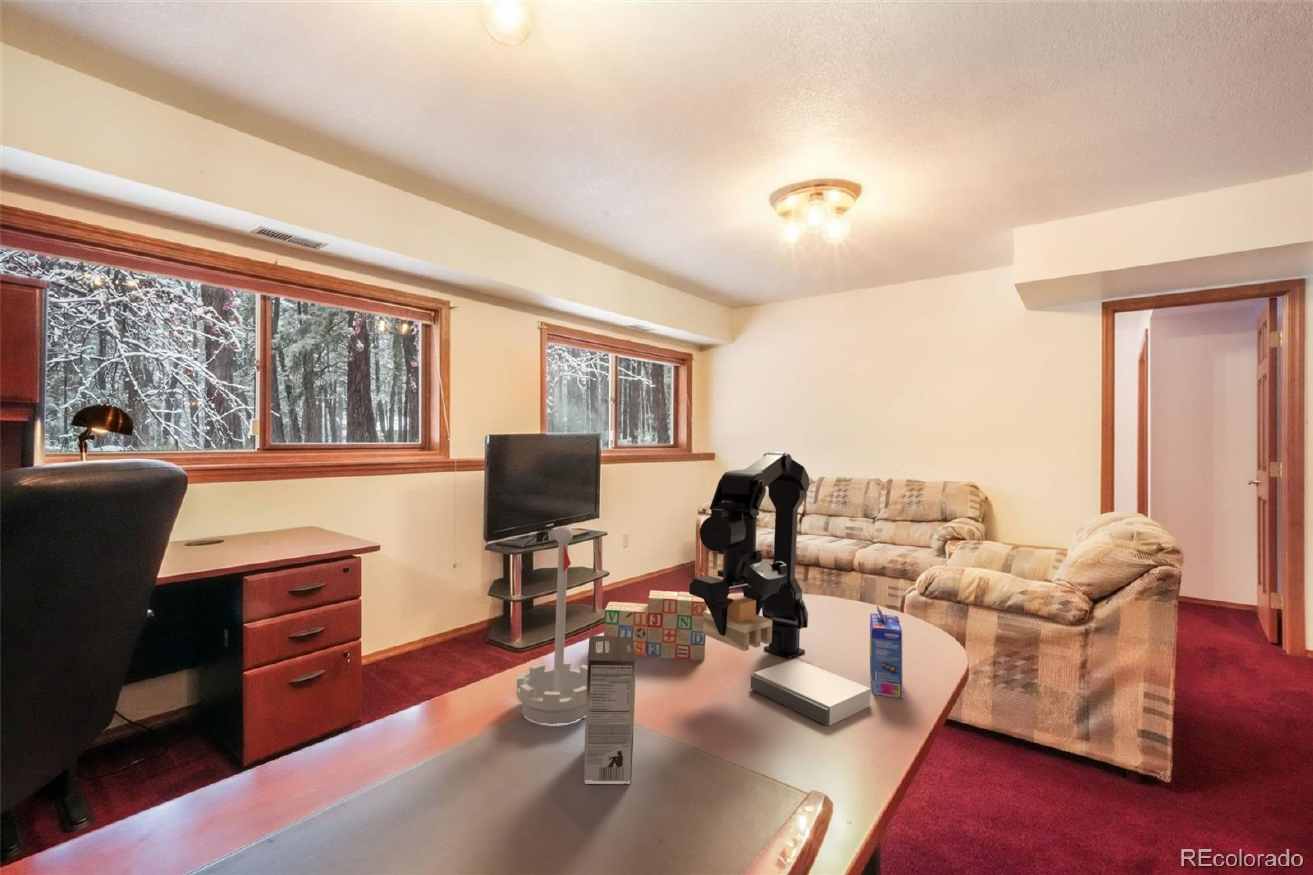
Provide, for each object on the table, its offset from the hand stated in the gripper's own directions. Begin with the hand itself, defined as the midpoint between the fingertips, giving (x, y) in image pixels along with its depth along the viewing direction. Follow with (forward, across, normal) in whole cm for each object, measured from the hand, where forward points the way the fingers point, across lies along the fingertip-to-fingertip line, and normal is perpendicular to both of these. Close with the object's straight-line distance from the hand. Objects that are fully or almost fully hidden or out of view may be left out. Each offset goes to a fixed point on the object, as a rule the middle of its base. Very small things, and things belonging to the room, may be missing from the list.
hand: (736, 631), depth 99 cm
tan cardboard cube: (-3, 0, 0) cm, 3 cm away
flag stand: (+11, -28, +13) cm, 33 cm away
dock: (+11, +11, -8) cm, 18 cm away
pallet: (+1, 0, 0) cm, 1 cm away
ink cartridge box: (+12, +27, -13) cm, 32 cm away
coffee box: (+11, -30, -5) cm, 33 cm away
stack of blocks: (+12, +1, +24) cm, 27 cm away
